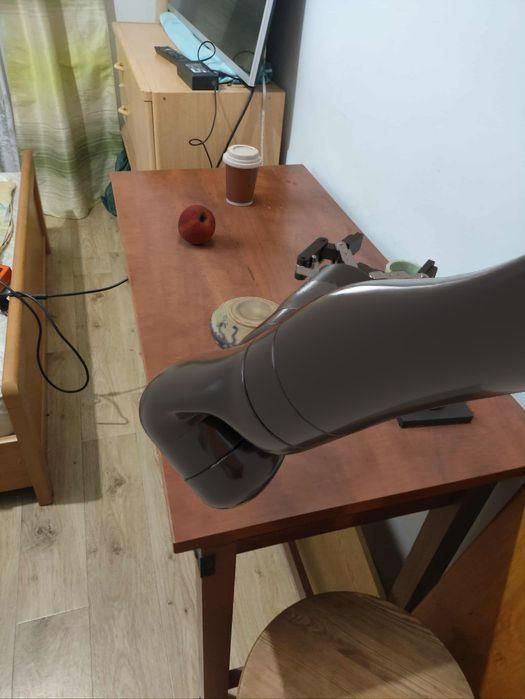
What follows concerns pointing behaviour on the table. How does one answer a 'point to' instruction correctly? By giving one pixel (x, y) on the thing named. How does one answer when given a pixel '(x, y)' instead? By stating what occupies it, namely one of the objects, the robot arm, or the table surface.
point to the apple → (196, 224)
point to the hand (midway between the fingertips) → (393, 253)
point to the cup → (402, 266)
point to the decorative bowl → (239, 319)
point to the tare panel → (438, 416)
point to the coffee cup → (241, 174)
